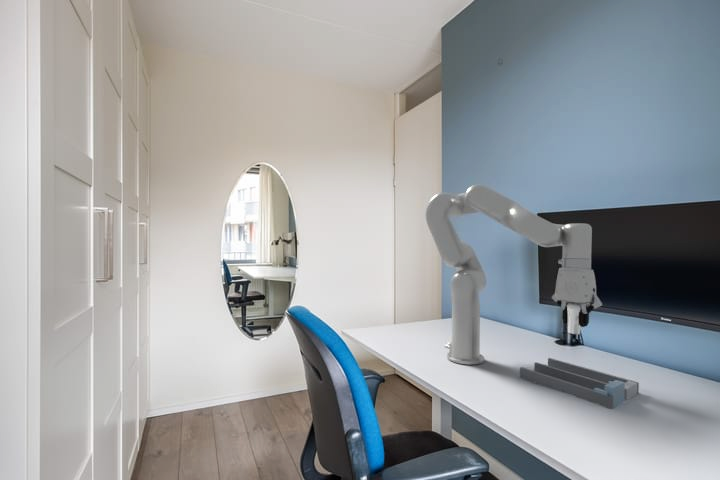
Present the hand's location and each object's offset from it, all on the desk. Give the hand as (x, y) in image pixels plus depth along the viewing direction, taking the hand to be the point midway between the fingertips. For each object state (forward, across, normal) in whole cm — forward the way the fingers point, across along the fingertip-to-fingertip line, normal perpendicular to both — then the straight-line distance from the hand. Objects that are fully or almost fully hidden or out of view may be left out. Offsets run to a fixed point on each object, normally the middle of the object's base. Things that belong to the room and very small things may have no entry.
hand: (575, 323), depth 111 cm
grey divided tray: (+17, +2, -4) cm, 18 cm away
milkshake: (+3, 0, 0) cm, 3 cm away
